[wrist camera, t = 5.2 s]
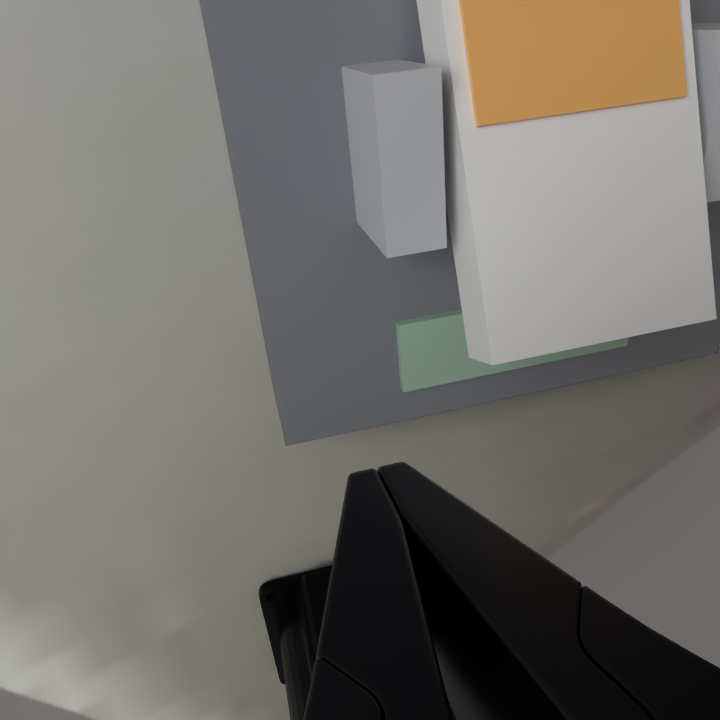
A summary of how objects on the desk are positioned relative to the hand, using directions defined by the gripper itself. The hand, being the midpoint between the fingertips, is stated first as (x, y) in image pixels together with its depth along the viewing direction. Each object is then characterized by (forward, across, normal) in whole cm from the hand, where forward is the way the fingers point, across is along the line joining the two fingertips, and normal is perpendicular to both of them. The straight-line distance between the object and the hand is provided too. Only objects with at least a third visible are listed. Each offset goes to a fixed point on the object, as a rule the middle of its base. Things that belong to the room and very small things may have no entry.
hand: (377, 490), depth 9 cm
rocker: (+8, -7, -3) cm, 11 cm away
